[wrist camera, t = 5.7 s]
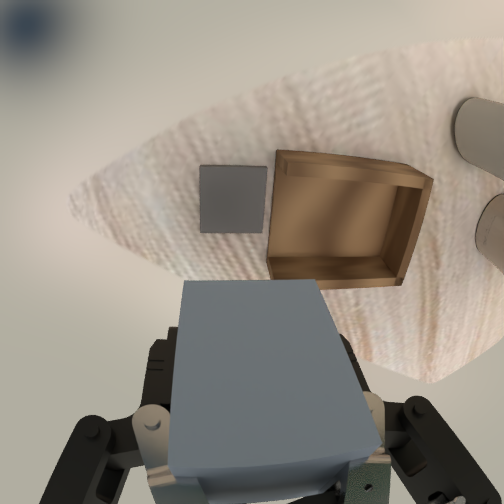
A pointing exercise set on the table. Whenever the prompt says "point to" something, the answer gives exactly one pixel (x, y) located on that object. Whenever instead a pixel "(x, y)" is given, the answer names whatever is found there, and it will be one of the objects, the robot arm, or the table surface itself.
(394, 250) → the crate
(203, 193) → the coaster
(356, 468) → the robot arm
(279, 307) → the block
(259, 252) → the table surface
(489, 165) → the can
